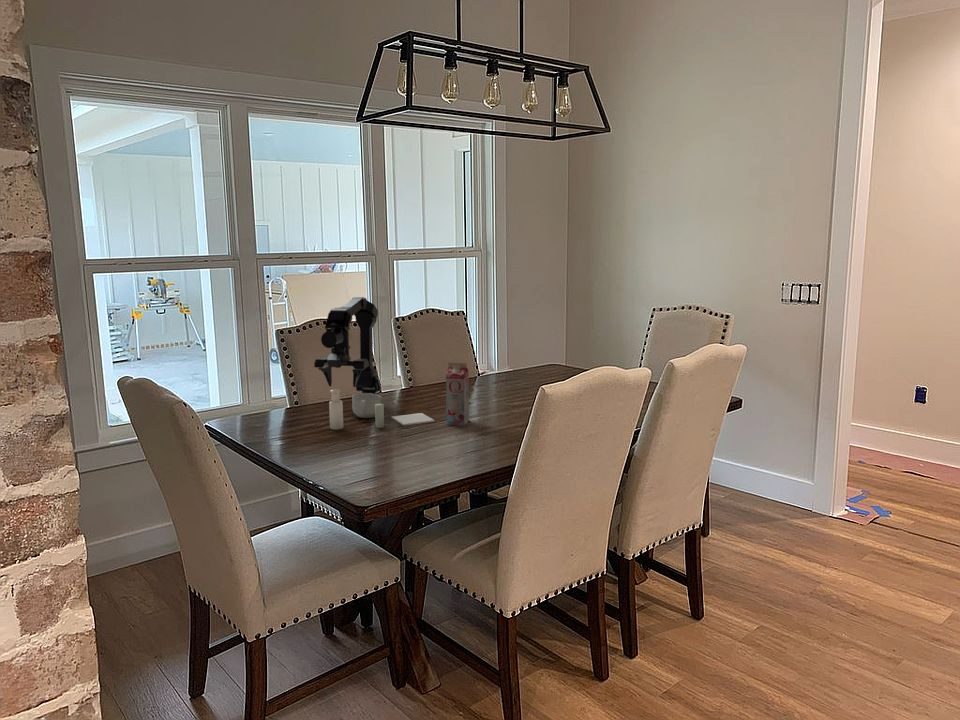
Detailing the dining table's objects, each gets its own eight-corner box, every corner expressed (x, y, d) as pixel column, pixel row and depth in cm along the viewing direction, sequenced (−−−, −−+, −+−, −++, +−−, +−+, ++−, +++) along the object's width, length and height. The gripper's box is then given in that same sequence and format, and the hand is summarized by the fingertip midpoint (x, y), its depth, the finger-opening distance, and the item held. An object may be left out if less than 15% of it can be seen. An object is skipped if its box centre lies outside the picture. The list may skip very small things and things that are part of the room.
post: (374, 426, 270) (373, 404, 269) (382, 425, 272) (381, 403, 270) (377, 428, 268) (376, 406, 266) (385, 427, 269) (384, 405, 268)
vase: (328, 427, 269) (327, 389, 267) (341, 425, 271) (339, 388, 269) (332, 430, 265) (330, 392, 263) (345, 428, 267) (343, 390, 265)
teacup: (358, 412, 291) (358, 391, 290) (385, 413, 289) (385, 392, 288) (345, 421, 278) (344, 399, 276) (373, 422, 275) (372, 401, 274)
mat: (391, 418, 282) (391, 416, 281) (421, 414, 287) (421, 412, 287) (403, 425, 271) (403, 424, 271) (434, 421, 276) (434, 420, 276)
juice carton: (464, 425, 271) (464, 364, 267) (446, 424, 272) (445, 364, 269) (468, 420, 278) (468, 361, 274) (451, 419, 279) (450, 360, 275)
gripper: (307, 346, 266) (308, 390, 268) (357, 348, 262) (359, 392, 265) (319, 341, 277) (321, 384, 279) (368, 343, 273) (369, 386, 276)
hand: (342, 386), depth 274 cm, fingers open, 9 cm apart
